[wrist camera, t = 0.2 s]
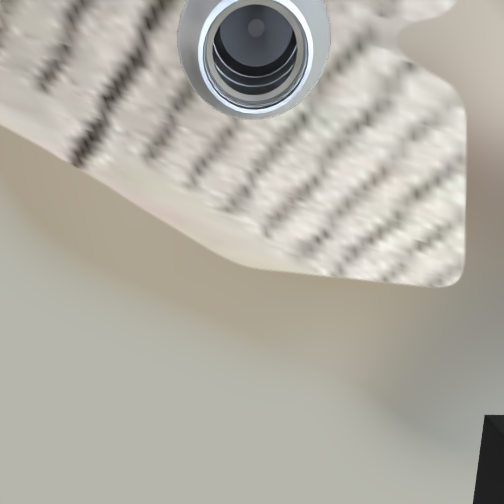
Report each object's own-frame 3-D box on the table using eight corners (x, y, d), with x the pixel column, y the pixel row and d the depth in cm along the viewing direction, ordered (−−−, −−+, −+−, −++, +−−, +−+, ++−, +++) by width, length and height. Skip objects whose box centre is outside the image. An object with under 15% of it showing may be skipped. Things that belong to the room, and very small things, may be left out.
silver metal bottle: (308, 63, 32) (371, 132, 14) (222, 84, 32) (185, 173, 15) (293, -37, 28) (352, -102, 11) (198, -11, 29) (117, -35, 12)
